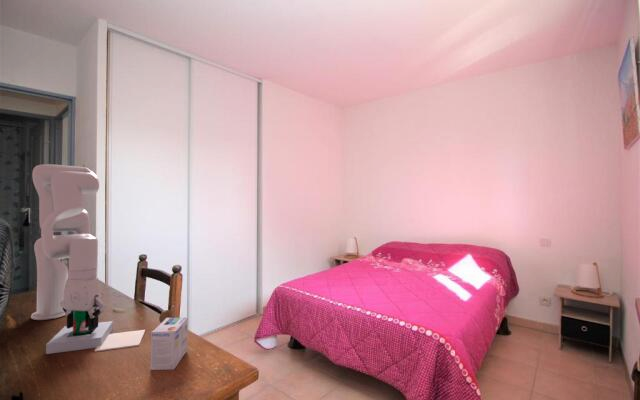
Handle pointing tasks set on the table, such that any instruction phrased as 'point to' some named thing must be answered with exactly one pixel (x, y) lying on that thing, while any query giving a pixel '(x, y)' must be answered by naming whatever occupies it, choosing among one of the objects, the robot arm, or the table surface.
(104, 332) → the collar
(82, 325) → the soda can
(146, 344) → the table surface
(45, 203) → the robot arm
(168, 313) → the snail figurine
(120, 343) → the mat
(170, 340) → the light bulb box
